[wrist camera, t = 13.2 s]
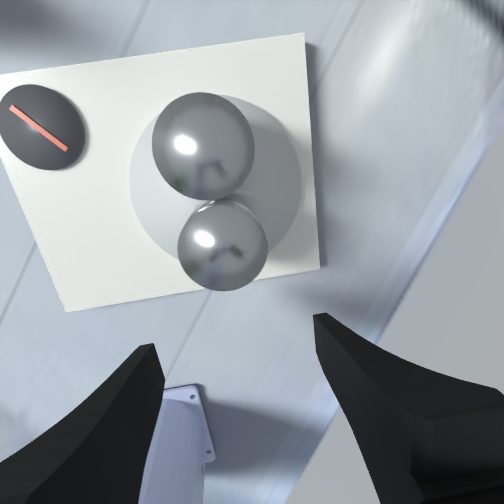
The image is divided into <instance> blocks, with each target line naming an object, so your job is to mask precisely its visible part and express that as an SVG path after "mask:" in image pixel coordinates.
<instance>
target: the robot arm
mask: <svg viewBox="0 0 504 504" xmlns="http://www.w3.org/2000/svg"><path fill="white" fill-rule="evenodd" d="M313 321H314V333H315V345H316V353H317V356H318V359H319V362H320V364H321V367H322V370H323V372H324V374H325V376H326V378H327V380H328V382H329V384H330V386H331V388H332V390H333V392H334V394H335V396H336V398H337V400H338V402H339V404H340V406H341V408H342V410H343V412H344V414H345V415H346V417H347V420H348V422H349V424H350V426H351V428H352V430H353V433H354V435H355V438H356V440H357V443H358V445H359V448H360V450H361V453H362V456H363V458H364V461H365V463H366V466H367V469H368V471H369V474H370V476H371V479H372V482H373V484H374V487H375V490H376V492H377V495H378V498H379V501H380V503H381V504H504V395H503V394H502V393H501V392H500V391H498V390H497V389H495V388H491V387H487V386H483V385H480V384H476V383H471V382H467V381H464V380H460V379H457V378H453V377H450V376H447V375H444V374H441V373H437V372H435V371H432V370H429V369H426V368H424V367H421V366H419V365H416V364H414V363H411V362H409V361H406V360H404V359H401V358H400V357H398V356H396V355H393V354H391V353H389V352H387V351H385V350H383V349H382V348H380V347H378V346H376V345H374V344H373V343H371V342H369V341H367V340H366V339H364V338H363V337H361V336H359V335H358V334H356V333H355V332H353V331H352V330H350V329H349V328H347V327H346V326H344V325H343V324H342V323H340V322H339V321H337V320H336V319H335V318H333V317H332V316H330V315H329V314H328V313H321V314H315V315H313ZM164 384H165V377H164V374H163V371H162V368H161V365H160V362H159V358H158V355H157V352H156V349H155V346H154V343H151V344H146V345H140V346H139V347H138V348H137V349H136V350H135V351H134V352H133V353H132V354H131V355H130V356H129V357H128V358H127V359H126V360H125V361H124V362H123V363H122V364H121V365H120V366H119V367H118V368H117V369H116V370H115V371H114V372H113V373H112V374H111V376H110V377H109V378H108V379H107V380H106V381H104V382H103V383H102V384H101V385H100V386H99V387H98V388H97V389H96V390H95V391H94V392H93V393H92V394H91V395H90V396H89V397H88V398H87V399H85V400H84V401H83V402H82V403H81V404H80V405H79V406H77V407H76V408H75V409H74V410H73V411H72V412H70V413H69V414H68V415H67V416H65V417H64V418H63V419H62V420H60V421H59V422H58V423H57V424H55V425H54V426H52V427H51V428H50V429H48V430H47V431H46V432H44V433H43V434H42V435H40V436H39V437H38V438H36V439H35V440H33V441H32V442H31V443H29V444H28V445H26V446H25V447H23V448H22V449H20V450H19V451H17V452H16V453H14V454H13V455H11V456H10V457H8V458H7V459H5V460H3V461H2V462H0V504H203V492H204V476H205V463H210V462H213V461H214V460H215V451H214V448H213V444H212V440H211V436H210V433H209V429H208V425H207V422H206V418H205V414H204V410H203V407H202V403H201V399H200V396H199V392H198V388H197V387H196V386H194V385H190V386H185V387H179V388H174V389H168V390H164ZM192 395H195V396H192Z"/></svg>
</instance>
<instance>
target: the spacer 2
mask: <svg viewBox="0 0 504 504" xmlns="http://www.w3.org/2000/svg"><path fill="white" fill-rule="evenodd" d="M177 252H178V258H179V261H180V264H181V266H182V268H183V270H184V271H185V273H186V274H187V275H188V276H189V277H190V279H192V280H193V281H194V282H195V283H197V284H198V285H200V286H202V287H204V288H207V289H210V290H215V291H231V290H235V289H239V288H241V287H243V286H245V285H247V284H249V283H250V282H251V281H253V280H254V279H255V278H256V277H257V276H258V275H259V273H260V272H261V270H262V269H263V267H264V265H265V262H266V259H267V254H268V242H267V238H266V235H265V232H264V230H263V228H262V226H261V224H260V222H259V220H258V218H257V216H256V214H255V212H254V210H253V208H252V207H251V205H250V204H249V203H248V201H247V200H246V199H244V198H243V197H242V196H240V195H238V194H236V193H231V194H230V195H228V196H226V197H223V198H220V199H216V200H209V201H204V200H200V201H199V202H198V203H197V204H196V206H195V207H194V209H193V211H192V213H191V214H190V216H189V218H188V220H187V221H186V223H185V225H184V227H183V229H182V230H181V233H180V235H179V239H178V245H177Z"/></svg>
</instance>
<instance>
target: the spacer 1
mask: <svg viewBox="0 0 504 504" xmlns="http://www.w3.org/2000/svg"><path fill="white" fill-rule="evenodd" d="M152 152H153V157H154V161H155V164H156V166H157V168H158V170H159V172H160V174H161V176H162V177H163V178H164V180H165V181H166V182H167V183H168V184H169V185H170V186H171V187H172V188H173V189H174V190H176V191H177V192H179V193H180V194H182V195H184V196H186V197H189V198H192V199H196V200H204V201H209V200H216V199H220V198H223V197H226V196H228V195H230V194H231V193H233V192H234V191H236V190H237V189H238V188H239V187H240V186H241V185H242V184H243V183H244V181H245V180H246V178H247V177H248V175H249V173H250V171H251V168H252V165H253V161H254V155H255V143H254V137H253V133H252V130H251V128H250V125H249V123H248V121H247V120H246V118H245V116H244V115H243V114H242V112H241V111H240V110H239V109H238V108H237V107H236V106H235V105H234V104H232V103H231V102H230V101H228V100H227V99H225V98H223V97H221V96H218V95H216V94H212V93H206V92H194V93H189V94H186V95H183V96H180V97H178V98H177V99H175V100H173V101H172V102H171V103H169V104H168V105H167V106H166V107H165V108H164V110H163V111H162V112H161V114H160V115H159V117H158V119H157V121H156V123H155V126H154V130H153V134H152Z"/></svg>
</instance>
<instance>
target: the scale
mask: <svg viewBox="0 0 504 504" xmlns="http://www.w3.org/2000/svg"><path fill="white" fill-rule="evenodd" d="M194 92H206V93H212V94H216V95H218V96H221V97H223V98H225V99H227V100H228V101H230V102H231V103H232V104H234V105H235V106H236V107H237V108H238V109H239V110H240V111H241V112H242V114H243V115H244V116H245V118H246V120H247V121H248V123H249V125H250V128H251V130H252V133H253V137H254V143H255V155H254V161H253V165H252V168H251V171H250V173H249V175H248V177H247V178H246V180H245V181H244V183H243V184H242V185H241V186H240V187H239V188H238V189H237V190H236V191H234V192H233V193H236V194H238V195H240V196H242V197H243V198H244V199H246V200H247V201H248V203H249V204H250V205H251V207H252V208H253V210H254V212H255V214H256V216H257V218H258V220H259V222H260V224H261V226H262V228H263V230H264V232H265V235H266V238H267V242H268V254H267V259H266V262H265V265H264V267H263V269H262V270H261V272H260V273H259V275H258V276H257V277H256V278H255V279H254V280H259V279H265V278H271V277H277V276H283V275H289V274H294V273H300V272H306V271H312V270H318V269H320V259H319V244H318V229H317V215H316V200H315V185H314V170H313V156H312V141H311V126H310V111H309V97H308V82H307V67H306V52H305V38H304V33H297V34H290V35H283V36H275V37H268V38H261V39H254V40H247V41H239V42H232V43H225V44H218V45H211V46H203V47H196V48H189V49H182V50H175V51H167V52H160V53H153V54H146V55H139V56H131V57H124V58H117V59H110V60H103V61H95V62H88V63H81V64H74V65H67V66H59V67H52V68H45V69H38V70H31V71H23V72H16V73H9V74H2V75H0V157H1V159H2V162H3V164H4V166H5V169H6V171H7V174H8V176H9V178H10V181H11V183H12V185H13V188H14V190H15V192H16V195H17V197H18V200H19V202H20V204H21V207H22V209H23V211H24V214H25V216H26V218H27V221H28V223H29V226H30V228H31V230H32V233H33V235H34V237H35V240H36V242H37V244H38V247H39V249H40V252H41V254H42V256H43V259H44V261H45V263H46V266H47V268H48V270H49V273H50V275H51V278H52V280H53V282H54V285H55V287H56V289H57V292H58V294H59V296H60V299H61V301H62V304H63V306H64V308H65V311H66V312H72V311H77V310H83V309H89V308H95V307H101V306H107V305H113V304H118V303H124V302H130V301H136V300H142V299H148V298H154V297H160V296H165V295H171V294H177V293H183V292H189V291H195V290H201V289H206V288H204V287H202V286H200V285H198V284H197V283H195V282H194V281H193V280H192V279H190V277H189V276H188V275H187V274H186V273H185V271H184V270H183V268H182V266H181V264H180V261H179V258H178V252H177V245H178V239H179V235H180V233H181V230H182V229H183V227H184V225H185V223H186V221H187V220H188V218H189V216H190V214H191V213H192V211H193V209H194V207H195V206H196V204H197V203H198V202H199V201H200V200H196V199H192V198H189V197H186V196H184V195H182V194H180V193H179V192H177V191H176V190H174V189H173V188H172V187H171V186H170V185H169V184H168V183H167V182H166V181H165V180H164V178H163V177H162V176H161V174H160V172H159V170H158V168H157V166H156V164H155V161H154V157H153V152H152V134H153V130H154V126H155V123H156V121H157V119H158V117H159V115H160V114H161V112H162V111H163V110H164V108H165V107H166V106H167V105H168V104H169V103H171V102H172V101H173V100H175V99H177V98H178V97H180V96H183V95H186V94H189V93H194Z"/></svg>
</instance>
